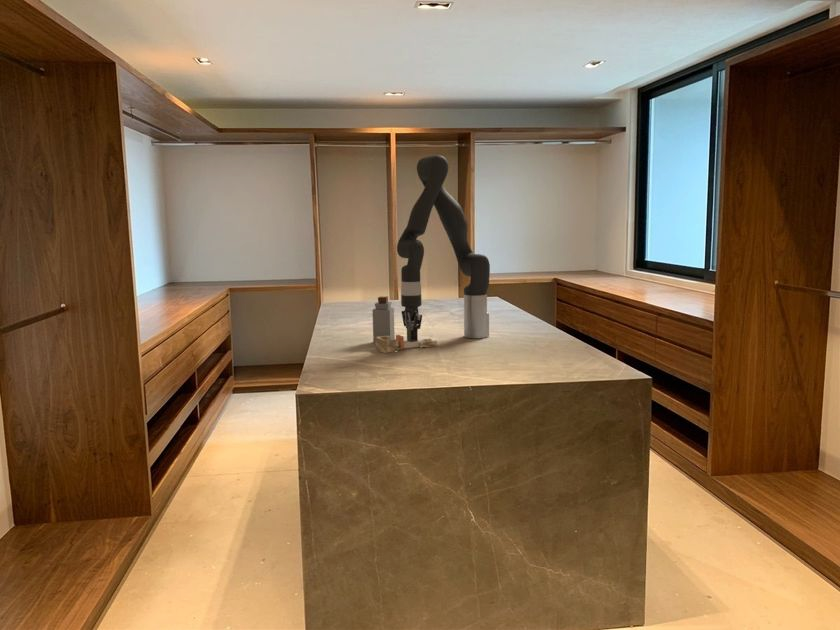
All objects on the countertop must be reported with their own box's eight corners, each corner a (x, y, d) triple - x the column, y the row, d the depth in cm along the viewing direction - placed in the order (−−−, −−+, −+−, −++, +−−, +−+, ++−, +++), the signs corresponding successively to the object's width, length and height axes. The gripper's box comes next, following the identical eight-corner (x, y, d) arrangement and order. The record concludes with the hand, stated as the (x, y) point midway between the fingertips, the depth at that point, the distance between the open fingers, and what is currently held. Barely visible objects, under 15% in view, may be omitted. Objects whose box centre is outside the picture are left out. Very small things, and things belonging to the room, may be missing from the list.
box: (389, 347, 243) (388, 335, 242) (398, 351, 235) (398, 339, 234) (375, 348, 241) (375, 337, 240) (384, 353, 233) (384, 341, 232)
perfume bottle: (390, 344, 247) (389, 298, 245) (373, 344, 249) (372, 298, 246) (394, 341, 254) (393, 296, 251) (378, 341, 255) (376, 295, 252)
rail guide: (430, 343, 249) (430, 338, 248) (437, 346, 243) (437, 340, 243) (413, 345, 246) (413, 340, 245) (420, 348, 240) (420, 342, 240)
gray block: (420, 344, 246) (420, 323, 245) (425, 346, 242) (425, 324, 241) (396, 347, 242) (395, 325, 241) (400, 349, 238) (400, 327, 237)
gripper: (428, 294, 234) (429, 341, 237) (412, 290, 247) (413, 335, 250) (409, 296, 231) (410, 343, 234) (394, 292, 244) (395, 337, 247)
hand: (412, 338), depth 242 cm, fingers open, 3 cm apart
